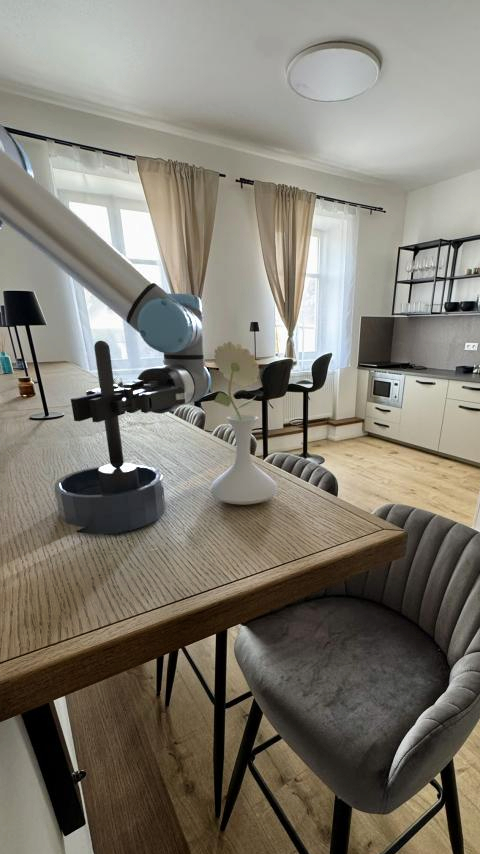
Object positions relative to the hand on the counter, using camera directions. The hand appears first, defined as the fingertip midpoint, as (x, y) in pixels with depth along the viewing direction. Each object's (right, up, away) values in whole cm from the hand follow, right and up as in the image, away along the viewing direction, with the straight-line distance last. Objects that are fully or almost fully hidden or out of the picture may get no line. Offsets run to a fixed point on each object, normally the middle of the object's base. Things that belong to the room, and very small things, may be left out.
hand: (84, 410), depth 50 cm
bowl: (-1, -13, +12) cm, 18 cm away
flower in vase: (+17, -11, +21) cm, 29 cm away
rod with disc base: (+1, -9, +9) cm, 13 cm away
